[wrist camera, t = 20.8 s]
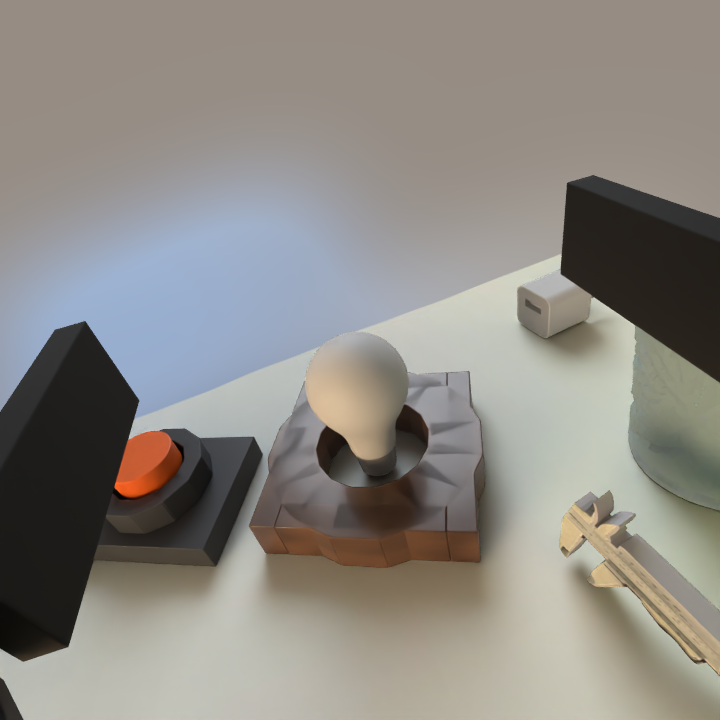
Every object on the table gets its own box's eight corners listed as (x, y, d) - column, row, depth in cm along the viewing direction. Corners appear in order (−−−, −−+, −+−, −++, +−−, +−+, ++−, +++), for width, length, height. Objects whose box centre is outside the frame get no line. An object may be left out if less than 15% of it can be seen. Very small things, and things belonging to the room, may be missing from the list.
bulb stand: (254, 561, 27) (236, 534, 26) (309, 403, 38) (299, 376, 36) (491, 573, 24) (489, 543, 22) (478, 395, 35) (476, 365, 33)
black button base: (73, 559, 30) (36, 526, 28) (143, 455, 37) (118, 422, 35) (216, 566, 28) (188, 531, 25) (263, 453, 35) (244, 417, 32)
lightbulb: (327, 502, 30) (275, 378, 23) (350, 434, 34) (312, 314, 28) (418, 510, 28) (388, 377, 21) (429, 437, 32) (408, 309, 26)
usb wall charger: (517, 321, 41) (517, 283, 39) (576, 294, 43) (580, 256, 40) (548, 341, 38) (550, 301, 36) (611, 311, 40) (617, 271, 37)
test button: (105, 499, 29) (90, 482, 28) (140, 447, 33) (128, 431, 32) (162, 499, 28) (148, 482, 27) (193, 446, 32) (182, 429, 30)
